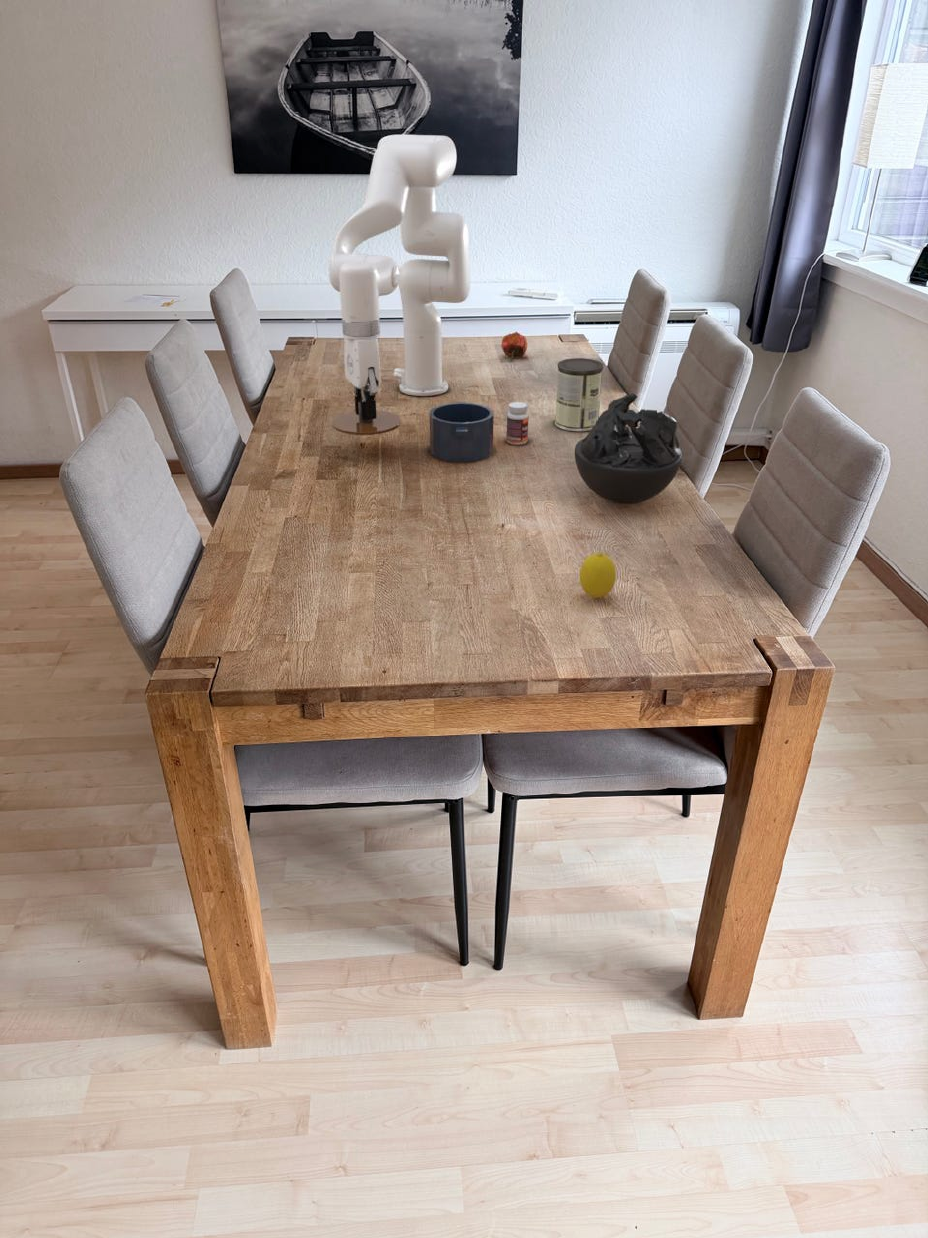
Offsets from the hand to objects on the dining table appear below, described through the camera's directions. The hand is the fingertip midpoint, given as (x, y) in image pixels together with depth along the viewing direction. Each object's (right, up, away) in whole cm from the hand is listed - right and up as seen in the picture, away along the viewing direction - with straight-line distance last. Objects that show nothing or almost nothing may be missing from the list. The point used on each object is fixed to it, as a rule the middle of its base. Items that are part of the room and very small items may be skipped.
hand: (366, 415), depth 191 cm
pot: (+20, -6, +5) cm, 22 cm away
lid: (0, -2, +1) cm, 2 cm away
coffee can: (+47, +2, +20) cm, 51 cm away
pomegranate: (+35, +32, +68) cm, 83 cm away
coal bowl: (+52, -20, -16) cm, 58 cm away
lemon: (+42, -40, -49) cm, 75 cm away
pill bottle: (+33, -4, +10) cm, 34 cm away
